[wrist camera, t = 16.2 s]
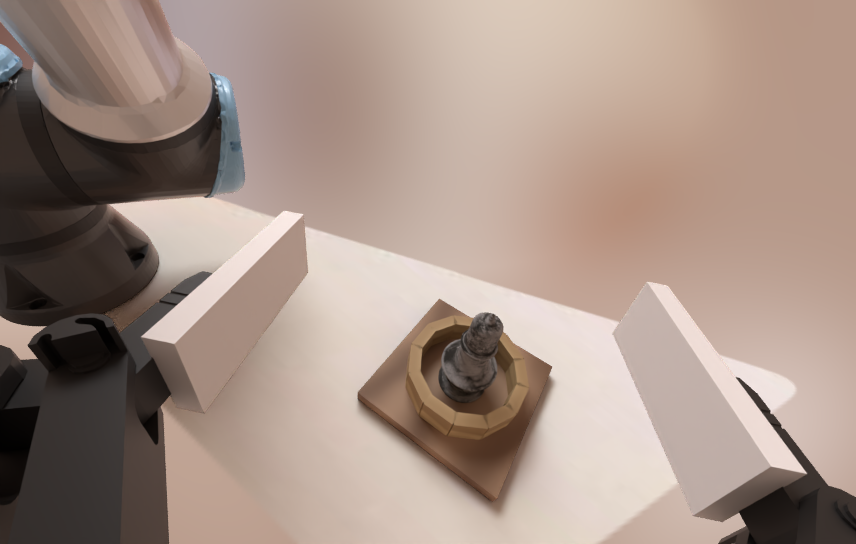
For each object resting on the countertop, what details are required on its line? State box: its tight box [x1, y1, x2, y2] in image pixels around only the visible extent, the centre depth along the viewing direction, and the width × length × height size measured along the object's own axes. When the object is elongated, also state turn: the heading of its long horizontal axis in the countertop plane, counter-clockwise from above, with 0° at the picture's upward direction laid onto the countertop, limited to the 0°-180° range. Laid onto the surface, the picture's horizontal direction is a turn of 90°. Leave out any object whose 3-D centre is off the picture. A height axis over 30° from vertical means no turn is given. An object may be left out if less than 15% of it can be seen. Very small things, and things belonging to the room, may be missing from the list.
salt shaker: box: [438, 313, 503, 403], centre depth 33 cm, size 6×6×12 cm
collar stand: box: [358, 299, 552, 502], centre depth 37 cm, size 16×16×4 cm
